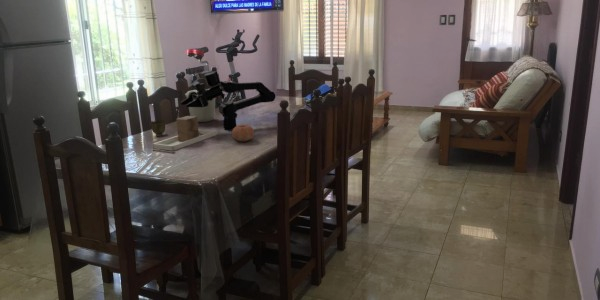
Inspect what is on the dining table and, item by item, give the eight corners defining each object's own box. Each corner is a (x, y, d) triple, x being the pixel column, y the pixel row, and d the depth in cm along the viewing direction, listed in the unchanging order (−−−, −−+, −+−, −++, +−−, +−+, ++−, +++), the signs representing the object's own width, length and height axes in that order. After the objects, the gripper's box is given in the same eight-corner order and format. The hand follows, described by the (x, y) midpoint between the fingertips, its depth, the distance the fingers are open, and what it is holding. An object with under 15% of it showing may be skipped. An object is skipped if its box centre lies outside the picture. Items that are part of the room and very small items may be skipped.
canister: (212, 123, 272) (209, 87, 267) (182, 123, 275) (179, 87, 270) (222, 117, 289) (220, 83, 284) (194, 117, 292) (191, 83, 287)
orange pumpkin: (234, 144, 225) (232, 128, 223) (231, 139, 235) (229, 123, 233) (256, 142, 227) (255, 126, 225) (252, 137, 238) (251, 121, 235)
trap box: (198, 135, 244) (197, 129, 243) (216, 137, 239) (216, 130, 238) (153, 151, 217) (152, 143, 216) (173, 153, 212) (172, 146, 211)
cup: (169, 135, 248) (168, 120, 246) (161, 138, 241) (159, 123, 239) (157, 134, 250) (155, 119, 248) (149, 137, 243) (147, 122, 241)
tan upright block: (189, 137, 234) (187, 115, 231) (199, 138, 231) (197, 116, 228) (178, 141, 227) (176, 118, 224) (188, 142, 224) (186, 119, 222)
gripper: (199, 77, 254) (172, 88, 248) (211, 80, 238) (183, 92, 232) (206, 97, 258) (180, 108, 252) (219, 101, 242) (191, 113, 236)
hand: (183, 105), depth 243 cm, fingers open, 9 cm apart
